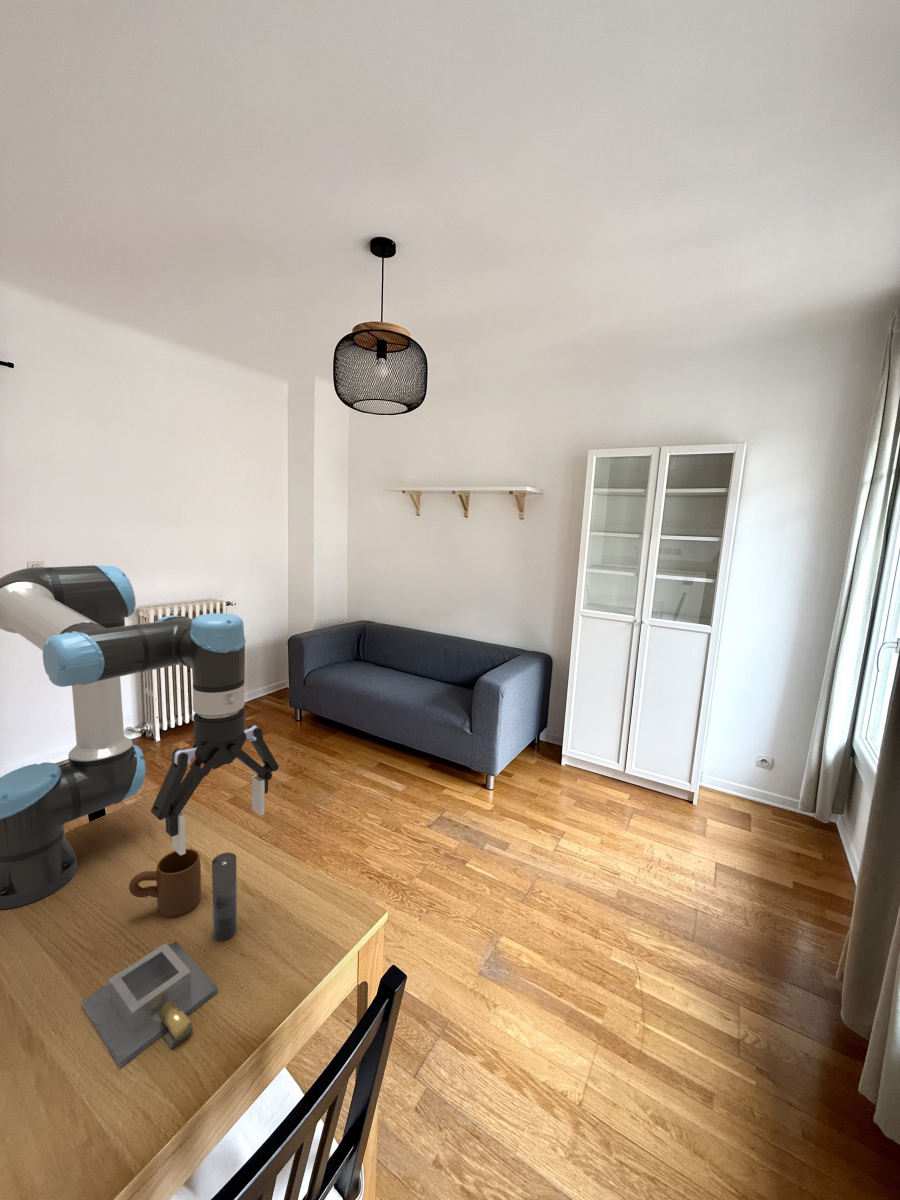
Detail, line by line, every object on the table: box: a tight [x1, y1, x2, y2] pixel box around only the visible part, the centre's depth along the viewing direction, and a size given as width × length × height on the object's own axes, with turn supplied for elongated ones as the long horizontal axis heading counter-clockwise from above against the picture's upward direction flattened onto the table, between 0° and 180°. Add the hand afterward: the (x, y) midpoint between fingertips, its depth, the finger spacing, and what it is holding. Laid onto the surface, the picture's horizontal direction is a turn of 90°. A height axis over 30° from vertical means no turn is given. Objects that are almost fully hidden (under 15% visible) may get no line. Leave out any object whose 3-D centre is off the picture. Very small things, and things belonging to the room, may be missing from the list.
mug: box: [128, 848, 202, 918], centre depth 93 cm, size 12×8×9 cm, turn 125°
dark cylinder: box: [211, 852, 238, 942], centre depth 88 cm, size 4×4×15 cm
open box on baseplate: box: [81, 940, 218, 1069], centre depth 75 cm, size 18×14×4 cm
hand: (221, 830), depth 80 cm, fingers open, 13 cm apart
